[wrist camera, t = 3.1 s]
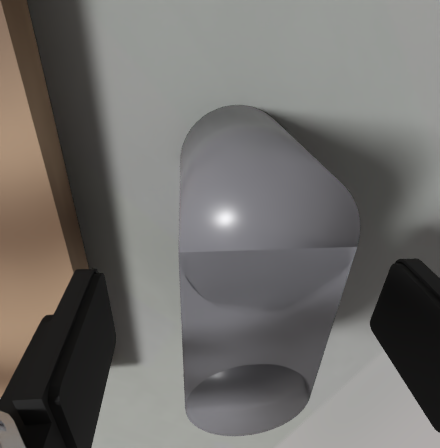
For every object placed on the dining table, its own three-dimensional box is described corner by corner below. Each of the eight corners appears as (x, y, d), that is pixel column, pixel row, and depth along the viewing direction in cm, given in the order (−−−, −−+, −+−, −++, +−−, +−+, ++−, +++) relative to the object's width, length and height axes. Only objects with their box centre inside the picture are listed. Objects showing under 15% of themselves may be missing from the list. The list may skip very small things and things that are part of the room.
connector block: (178, 104, 10) (174, 162, 6) (296, 105, 11) (384, 161, 6) (186, 344, 16) (187, 467, 12) (261, 339, 17) (290, 456, 12)
